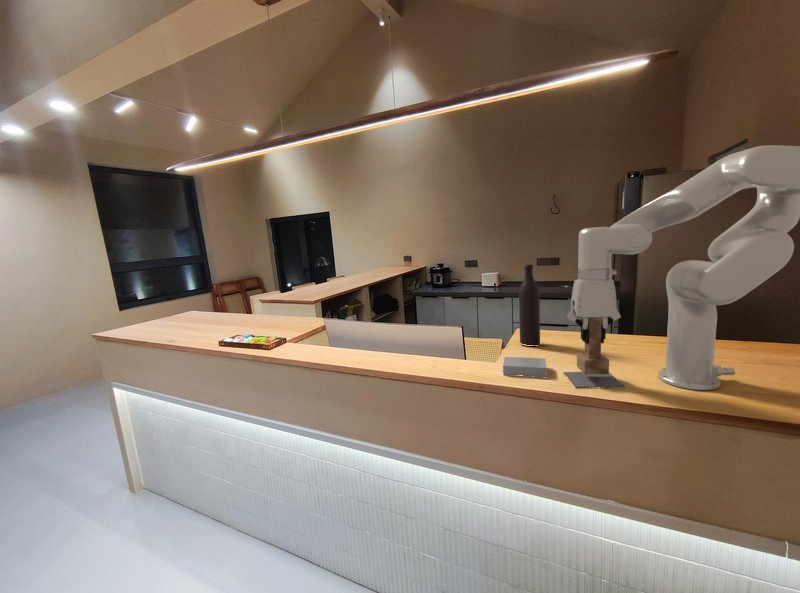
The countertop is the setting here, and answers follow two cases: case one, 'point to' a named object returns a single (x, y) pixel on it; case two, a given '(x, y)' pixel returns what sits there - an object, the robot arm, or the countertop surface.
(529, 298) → the wine bottle
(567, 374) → the mat
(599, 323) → the tamper
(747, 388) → the countertop surface
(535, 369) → the tile
